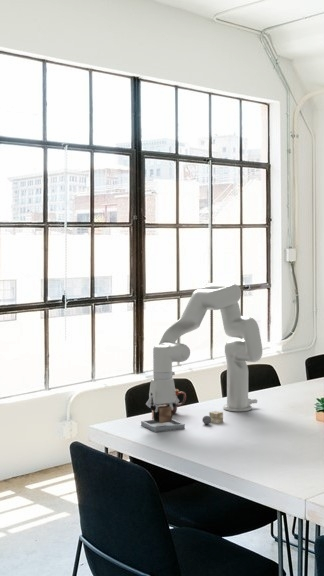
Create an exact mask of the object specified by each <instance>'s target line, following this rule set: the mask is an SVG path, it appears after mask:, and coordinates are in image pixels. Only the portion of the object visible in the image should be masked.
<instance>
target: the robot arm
mask: <svg viewBox="0 0 324 576" xmlns="http://www.w3.org/2000/svg"><path fill="white" fill-rule="evenodd" d="M241 298H242V289H241V287H240V286H239V285H238V284H235V283H225V282H211V283H208V284H206V285H205V287H204V288H200V289H196V290H194V291H193V292H192V293H191V297H190V299H189V301H188V302H187V305H186V306H185V309H184V311H183V313H182V315H181V317H180V318H179V319H178V320H177V321H175V322H174V323H173V324H172V325H171V326H169V327H168V329H166V331H164V333H163V335H162V336H161V339H160V340H159V343H158V344H156V345H155V346H153V349H152V350H153V351H152V354H153V359H152V363H153V364H152V365H153V367H152V368H153V370H152V373H153V374H152V375H153V377H152V378H151V379H150V383H149V384H150V385H149V393H148V400H147V401H146V403H145V405H146V406H147V408H149V409H150V410H151V412H152V411H153V418H154V421H156V422H159V412H158V408H159V405H161V404H167V405H168V406H170V407H171V420H172V419H173V414H172V410H173V408H174V407H175V406H176V404H177V403H179V402H180V399H179V398H178V396H177V397H176V394H175V389H176V387H175V385H176V384H175V380H174V378H173V376H175V374H176V373H175V371H173V363H183V362H185V361H187V360H188V359H189V358H190V355H191V349H190V348H189V346H188V345H187V344H184V343H180V342H177V341H178V339H179V338H180V337H182V336H184V335H186V334H188V333H191V332H193V331H195V330H197V329H198V328H199V327H201V323H202V322H203V319H204V317H205V315H206V314H207V311H208V310H210V311H218V310H219V311H220V314H221V315H220V316H221V319H222V324H223V325H222V326H223V330H224V333H225V335H226V336H228V337H230V338H231V339H229V340H227V341H226V342H225V345H224V355H225V360H226V404H224V405H222V406H223V407H222V408H223V410H225V411H228V412H240V413H241V412H248V411H251V410H252V406H251V405H252V404H257V403H258V399H257V398H254V399H253V398H250V397H249V367H248V364H247V362H249V363H255V362H259V361H260V360H261V359H262V356H263V344H262V338H261V332H260V327H259V324H258V322H257V320H256V319H255V318H252V317H250V316H243V315H242V312H241V308H240V305H239V300H240V299H241Z"/></svg>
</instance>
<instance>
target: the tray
mask: <svg viewBox="0 0 324 576" xmlns="http://www.w3.org/2000/svg"><path fill="white" fill-rule="evenodd" d="M140 421H141V422H140V423H141V426H142V427H144V428H146V429H148V430H149V431H151V432H153V433H162V432H171V431H176V430H184V429H185V423H183V422H180V421H178V420H176V419H174V418H172V420H171V422H166V423H159V422H156V421H154V420H152V419H146V420H140Z"/></svg>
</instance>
